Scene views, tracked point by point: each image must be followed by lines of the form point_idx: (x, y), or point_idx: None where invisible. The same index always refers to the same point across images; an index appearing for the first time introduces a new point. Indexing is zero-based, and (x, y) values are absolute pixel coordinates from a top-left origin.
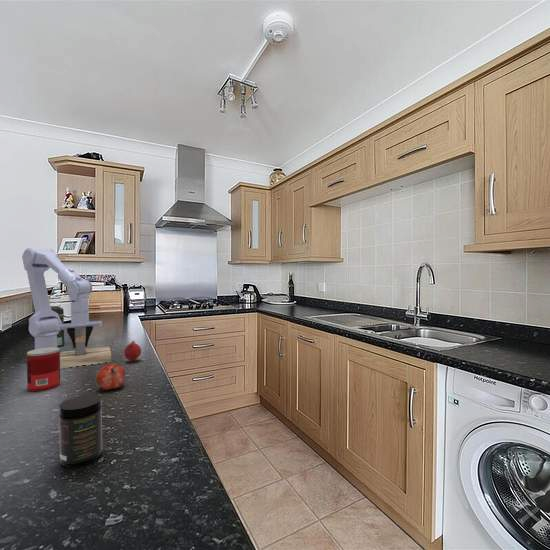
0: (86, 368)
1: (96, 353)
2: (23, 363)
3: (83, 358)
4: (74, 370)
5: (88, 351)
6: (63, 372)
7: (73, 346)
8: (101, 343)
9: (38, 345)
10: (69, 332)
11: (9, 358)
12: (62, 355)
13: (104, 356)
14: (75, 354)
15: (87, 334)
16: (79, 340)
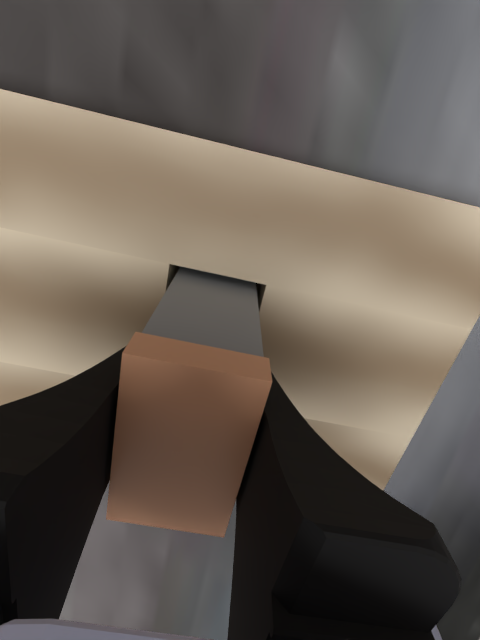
0: (217, 9)
1: (73, 240)
2: (475, 503)
3: (215, 143)
4: (320, 25)
5: None
6: (411, 31)
7: (273, 375)
8: None
9: (435, 630)
10: (408, 527)
11: (471, 619)
12: (337, 387)
13: (3, 90)
14: None
15: (50, 418)
16: (212, 360)
